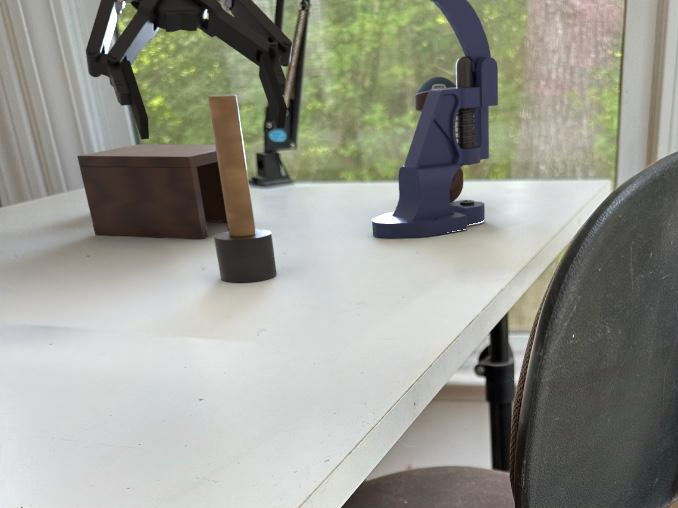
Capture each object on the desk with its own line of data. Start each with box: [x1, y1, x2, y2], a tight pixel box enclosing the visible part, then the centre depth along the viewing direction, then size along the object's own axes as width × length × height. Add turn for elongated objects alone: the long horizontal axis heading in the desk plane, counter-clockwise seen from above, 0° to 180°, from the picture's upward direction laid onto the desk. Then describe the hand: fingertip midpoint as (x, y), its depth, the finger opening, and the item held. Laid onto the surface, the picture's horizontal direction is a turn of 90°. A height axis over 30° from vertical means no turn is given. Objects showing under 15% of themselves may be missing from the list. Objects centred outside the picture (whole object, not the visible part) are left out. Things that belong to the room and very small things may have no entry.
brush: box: [207, 94, 278, 284], centre depth 87 cm, size 6×6×16 cm
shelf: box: [76, 143, 227, 240], centre depth 113 cm, size 16×12×9 cm
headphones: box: [414, 76, 464, 203], centre depth 121 cm, size 6×15×22 cm
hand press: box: [371, 0, 499, 239], centre depth 102 cm, size 19×9×28 cm, turn 125°
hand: (215, 123), depth 88 cm, fingers open, 13 cm apart
